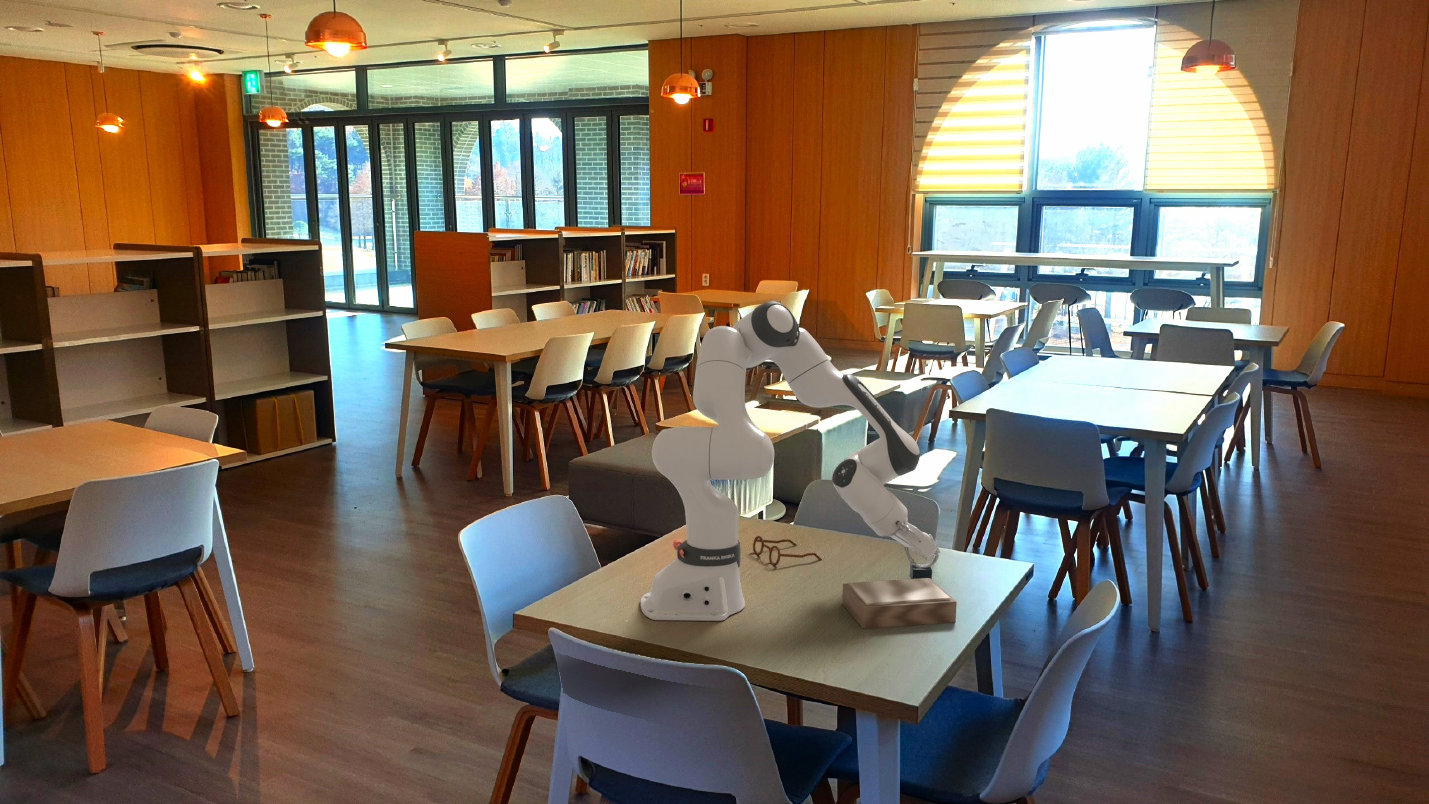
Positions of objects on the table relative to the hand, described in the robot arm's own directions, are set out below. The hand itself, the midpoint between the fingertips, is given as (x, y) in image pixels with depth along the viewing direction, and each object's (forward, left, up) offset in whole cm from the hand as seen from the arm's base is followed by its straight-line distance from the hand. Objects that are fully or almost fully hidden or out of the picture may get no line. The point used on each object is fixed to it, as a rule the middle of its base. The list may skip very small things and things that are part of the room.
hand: (924, 554), depth 233 cm
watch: (-1, 0, -6) cm, 6 cm away
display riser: (-13, -17, -7) cm, 22 cm away
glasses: (-26, +23, -7) cm, 36 cm away
